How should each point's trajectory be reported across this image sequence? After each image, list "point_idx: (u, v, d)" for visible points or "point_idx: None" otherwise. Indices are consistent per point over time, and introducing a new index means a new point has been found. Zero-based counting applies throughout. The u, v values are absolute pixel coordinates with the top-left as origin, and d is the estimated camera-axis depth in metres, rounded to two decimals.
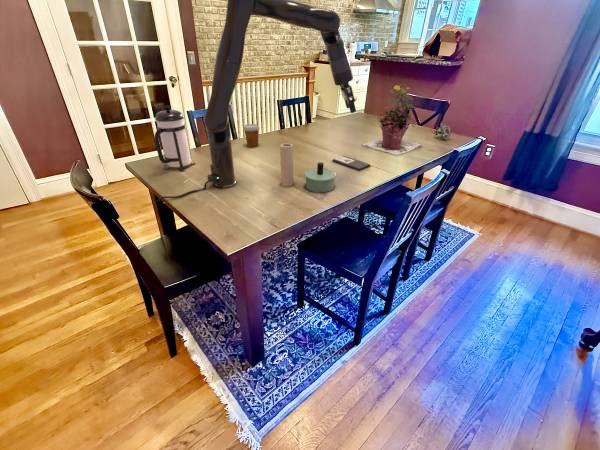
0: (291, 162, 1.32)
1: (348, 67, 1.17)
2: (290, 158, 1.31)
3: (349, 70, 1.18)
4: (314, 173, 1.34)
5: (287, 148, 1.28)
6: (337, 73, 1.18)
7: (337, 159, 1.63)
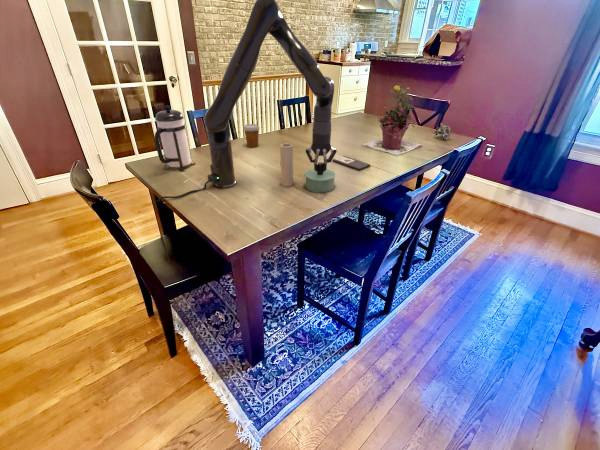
0: (291, 162, 1.32)
1: (315, 132, 1.22)
2: (290, 158, 1.31)
3: (315, 135, 1.22)
4: (314, 173, 1.34)
5: (287, 148, 1.28)
6: None
7: (337, 159, 1.63)
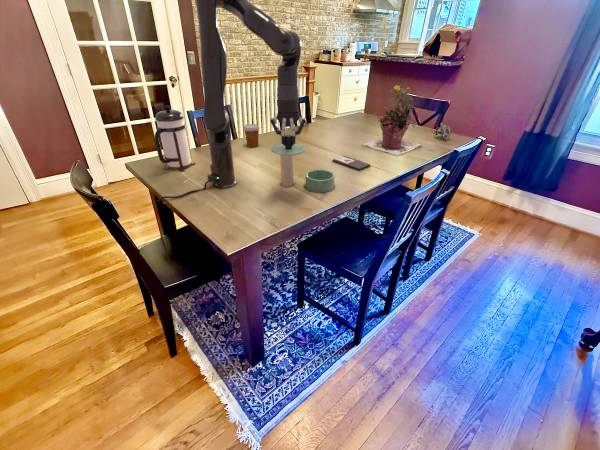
0: (291, 162, 1.32)
1: (279, 97, 1.06)
2: (290, 158, 1.31)
3: (280, 101, 1.06)
4: (282, 148, 1.18)
5: None
6: None
7: (337, 159, 1.63)
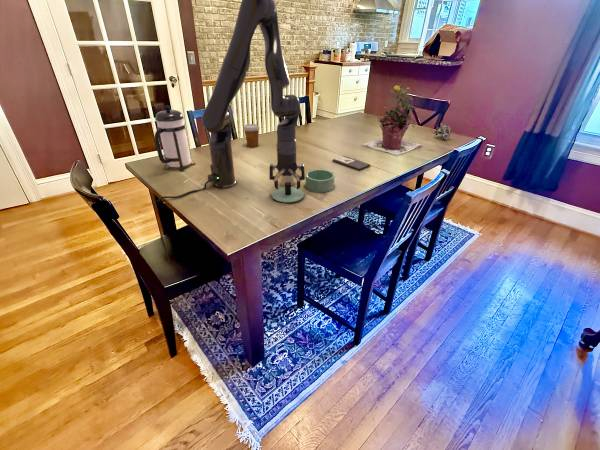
0: None
1: (279, 152, 1.16)
2: None
3: (279, 155, 1.16)
4: (282, 193, 1.28)
5: None
6: None
7: (337, 159, 1.64)
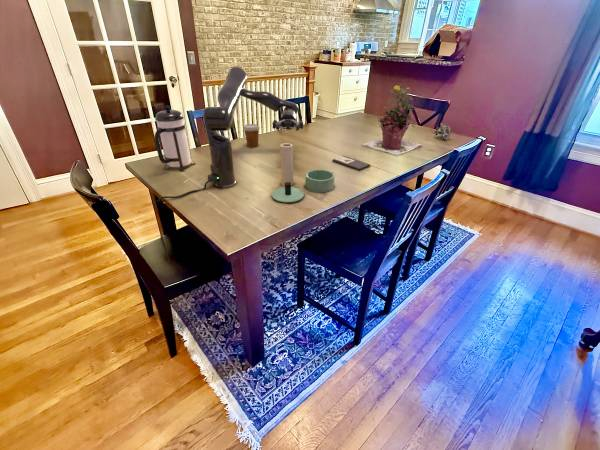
0: (291, 162, 1.32)
1: (283, 114, 1.49)
2: (290, 158, 1.31)
3: (283, 114, 1.48)
4: (282, 193, 1.28)
5: (287, 148, 1.28)
6: None
7: (337, 159, 1.64)
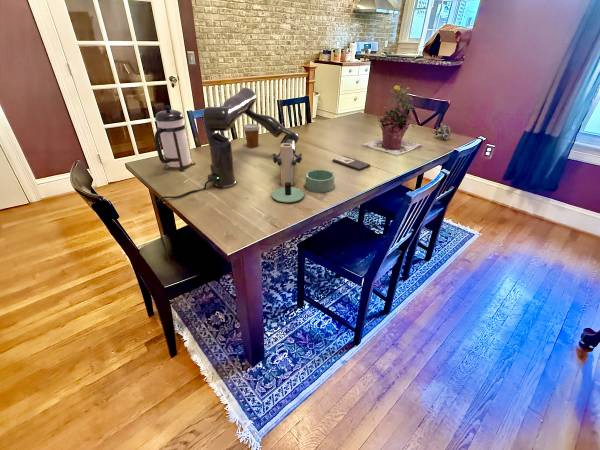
0: (291, 162, 1.32)
1: None
2: (290, 158, 1.31)
3: None
4: (282, 193, 1.28)
5: (287, 148, 1.28)
6: None
7: (337, 159, 1.64)
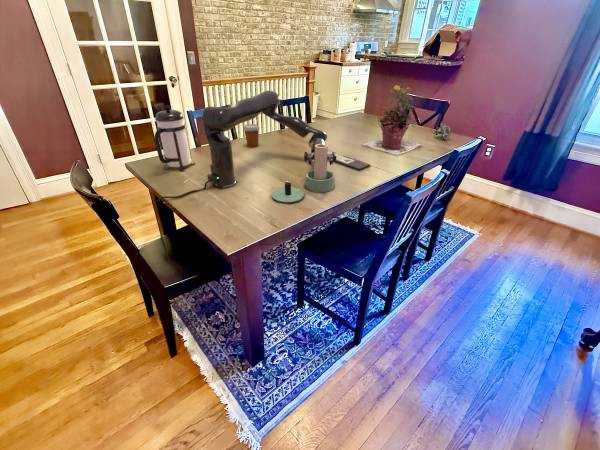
0: (325, 163, 1.30)
1: (313, 145, 1.42)
2: (325, 159, 1.28)
3: (313, 145, 1.41)
4: (282, 193, 1.28)
5: (322, 149, 1.25)
6: None
7: (337, 159, 1.63)
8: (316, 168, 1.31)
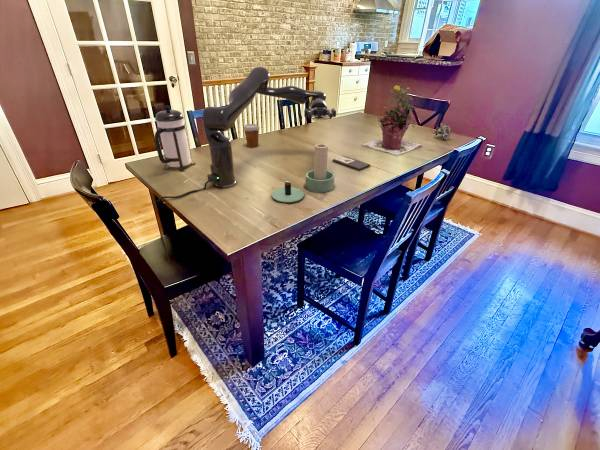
0: (325, 163, 1.30)
1: (313, 102, 1.44)
2: (325, 159, 1.28)
3: (313, 103, 1.43)
4: (282, 193, 1.28)
5: (322, 149, 1.25)
6: None
7: (337, 159, 1.64)
8: (316, 168, 1.31)
